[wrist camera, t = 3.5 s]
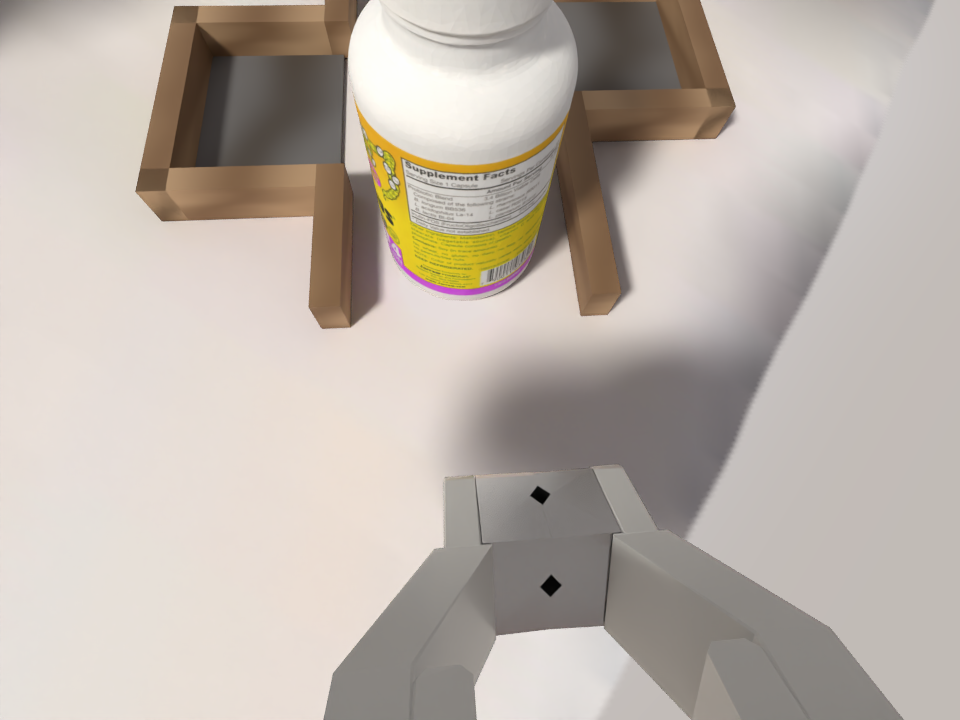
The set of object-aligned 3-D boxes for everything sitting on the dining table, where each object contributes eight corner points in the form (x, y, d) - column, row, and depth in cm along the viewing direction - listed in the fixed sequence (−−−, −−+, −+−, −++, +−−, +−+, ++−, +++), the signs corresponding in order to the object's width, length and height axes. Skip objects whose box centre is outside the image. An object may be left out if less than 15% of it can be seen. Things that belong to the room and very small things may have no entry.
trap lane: (140, 337, 21) (90, 304, 18) (214, -67, 30) (189, -130, 27) (767, 306, 22) (812, 272, 20) (652, -66, 32) (671, -125, 29)
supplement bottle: (404, 176, 24) (351, -191, 12) (539, 195, 24) (619, -156, 12) (375, 297, 22) (275, -12, 10) (525, 317, 22) (609, 33, 10)
